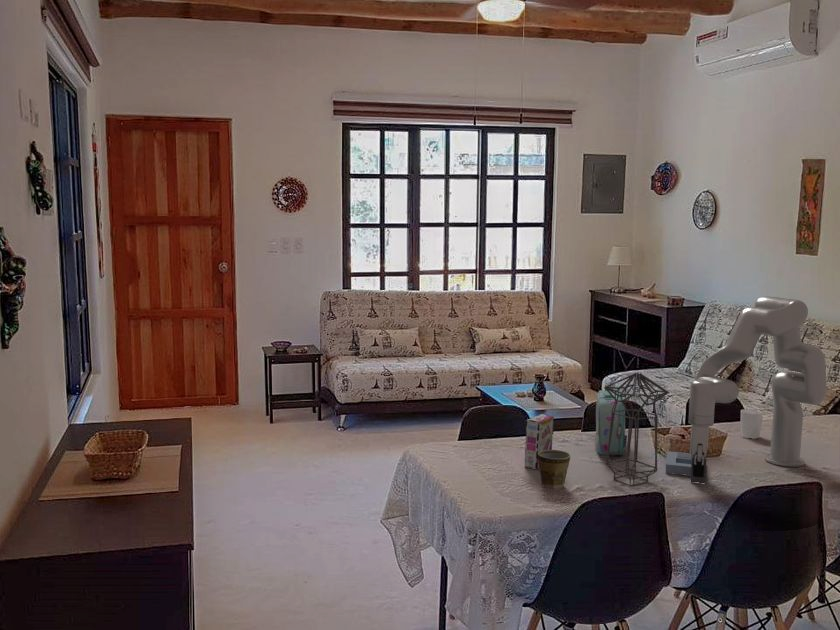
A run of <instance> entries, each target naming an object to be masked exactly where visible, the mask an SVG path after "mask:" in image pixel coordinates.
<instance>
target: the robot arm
mask: <svg viewBox="0 0 840 630" xmlns="http://www.w3.org/2000/svg"><path fill="white" fill-rule="evenodd" d="M808 316H809V309H808V305H807V304H806V303H805V302H803V301H802V300H800V299H794V298H785V297H778V296H762V297H758V298H757V299H756V301H755V303H754V306H751V307H746V308H744V309H743V310H742V311H740V313H739V316H738V317H737V319H736V321H735V324H734V325H733V328H732V330H731V331H730V334H729V336H728V338H727V340H726V342H725V344H724V345H723V346H722V347H721V348H719V349H717V350H716V351H715V352H713V353H712V354H711V355H710V356H708V357H707V358H706V359H705V360H704V361H703V362H702V364H701V366H700V367H699V370H698V371H697V374H696V376H695V378H694V380H692V381H691V383H690V387H689V388H690V391H689V404H688V405H689V406H688V424H690V425H691V427H690V438H689V439H690V440H689V441H690V442H689V453H690V455H691V456H692V455H695V460H694V464H693V476H694V477H702V478H703V477H704V457H705V456H706V457H707V452H708V444H709V436H710V427H712V426H714V423H715V422H714V421H715V419H714V418H715V405H716V404H717V403H718V404H730V403H732V402H734V401H736V399H737V398H738V396H739V393H740V389H739V386H738V384H737V383H736V382H735V381H732V380H731V379H726V378H722V377H718V376H716V375H717V373H718V372H719V371H721V369H723V368H725V366H727V365H731V364H733V363H737V362H741V361H745V360H748V359H749V358H751V356H752V354H753V353H754V352H753V351H754V350H755V348H756V345H757V343H758V342H759V339H760V337H761V336H762V335H763V336H770V337H773V341H772V342H773V352H774V362H775V364H776V366H777V367H779V368H780V369H783V371H779V372H777V373H776V374H775V375H774V376H773V377H772V380H771V392H772V398H773V399H772V401H773V404H772V405H773V406H772V407H773V408H772V409H773V410H772V421H771V422H772V424H771V437H770V449H769V453H767V454H765V456H764V460H765V461H766V462H768V463H769V464H773V465H776V466H779V467H780V466H781V467H789V468H792V467H793V468H795V467H798V468H799V467H802V466H804V465H805V463H806V462H805V459H803V458H802V457H801V448H802V436H803V435H802V434H803V424H804V423H803V422H804V411H803V406H802V405H801V404H805V405H810V406H811V405H813V406H816V405H817V406H818V405H819V404H820V405H821V404H822V403H823V402H824V400H825V399H826V395H827V388H828V387H827V372H826V371H827V367H826V358H825V354H824V353H823V351H822V349H821V348H819V347H818V346H817V345H816V346H815V345H811V344H806V343H805V344H804V343H803V342H802V336H801V330H800V329H801V328H800V326H801V325H803V324H804V323H805V322H806V320H807V319H808ZM696 457H697V458H696Z"/></svg>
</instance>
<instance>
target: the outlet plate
mask: <svg viewBox="0 0 840 630" xmlns="http://www.w3.org/2000/svg"><path fill="white" fill-rule="evenodd" d="M691 459H692V456H691V455H690V452H689V453H688V452H680V451H678V452H677V451H666V458H665V471H664V472H665V474H669V473H674V474H673V475H678V474H686V475H685V476H687V475H691Z"/></svg>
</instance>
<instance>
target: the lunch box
mask: <svg viewBox="0 0 840 630" xmlns="http://www.w3.org/2000/svg"><path fill="white" fill-rule="evenodd" d="M619 391H620V392H622V390H621V389H620V390H619ZM610 392H611V391H610ZM611 394H612V395H613V396H614V397H615V394H614V393H612V392H611ZM617 394H618V392H617ZM619 395H620V393H619ZM621 398H622V400H624V399H623V398H624V397H621ZM616 399H617V395H616ZM618 400H621V399H620V397H619V398H618ZM614 402H615V400H614V399H613V397H612V396H611V395H610V394H609V393H608V391H607V390H598V393H597V394H596V402H595V403H596V404H595V405H596V406H595V426H596V427H595V437H594V442H595V449H596V451H597V453H598V454H599V455H606V456H607V452H608V443H609V433H610V424H611V414H612V412H613V411H614V408H613V405H614ZM615 403H616V402H615ZM614 407H615V405H614ZM612 408H613V411H612ZM619 410H626V409H625V407H624V405H623V403H622V402H617V405H616V409H615V411H619ZM611 411H612V412H611ZM615 413H617V414H620V415H624V416H626V411H621V412H615ZM617 414H615V415H614V423H613V429H612V436H611V443H610V450H609V456H610V455H611V456H615V455H616V456H623V455H624V452H625V448H627V441H628V434H626V417H623V416H620V415H617Z"/></svg>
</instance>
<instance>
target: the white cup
mask: <svg viewBox="0 0 840 630" xmlns="http://www.w3.org/2000/svg"><path fill="white" fill-rule="evenodd" d="M763 414H764V413H763V411H762V410H759V409H754V408H753V409H752V408H744V409H740V436H741V437H742V438H744V437H745V439H749V438H752V439H751V440H757V439H756V438H758V439H760V435H761V430H762V422H763V416H764V415H763Z"/></svg>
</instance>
